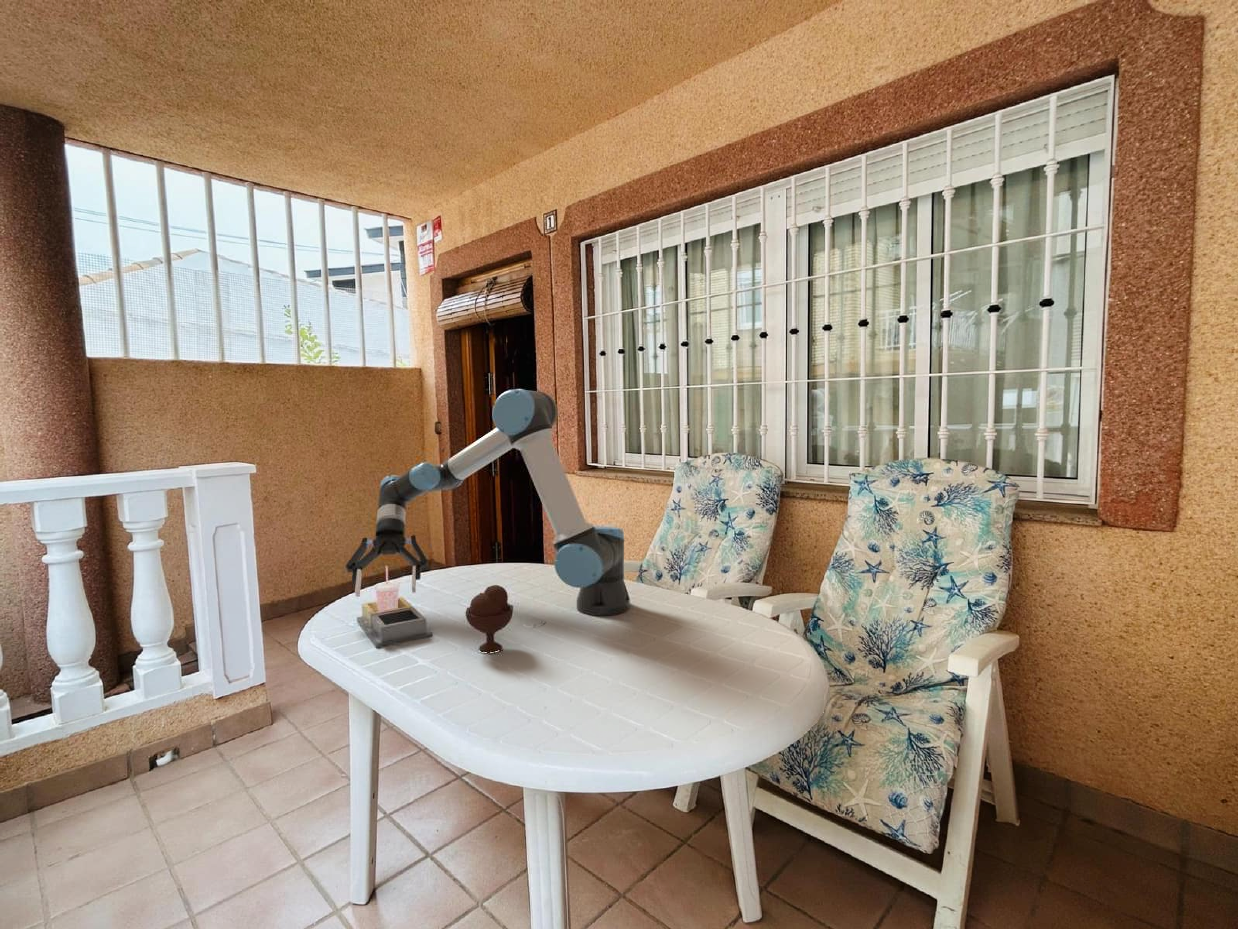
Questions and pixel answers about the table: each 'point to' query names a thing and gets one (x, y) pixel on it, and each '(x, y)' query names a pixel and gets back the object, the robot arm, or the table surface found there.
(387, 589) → the beverage cup
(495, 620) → the ice cream bowl
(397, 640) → the square compartment tray
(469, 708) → the table surface
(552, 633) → the table surface
